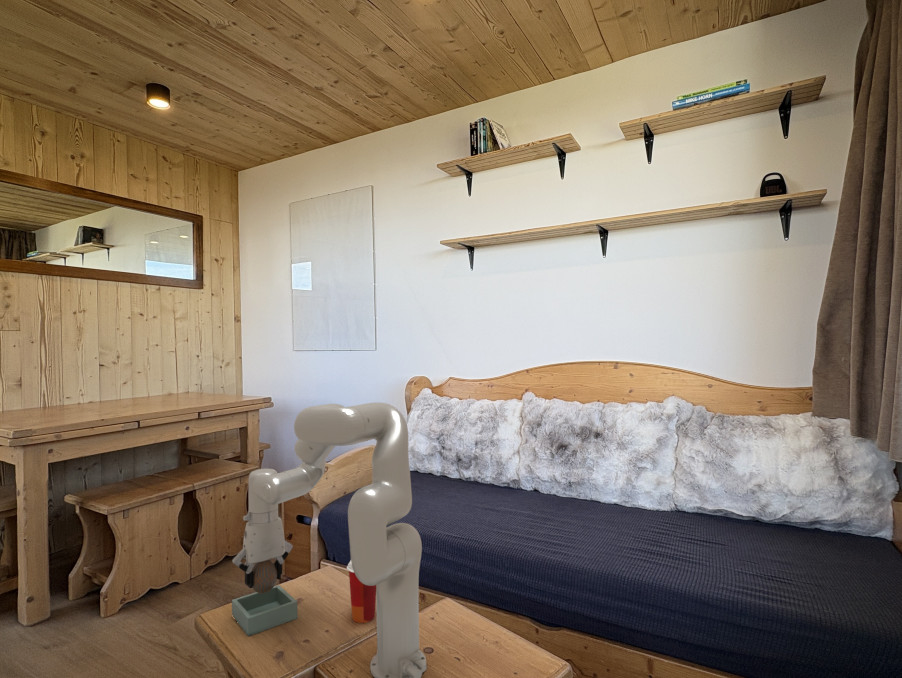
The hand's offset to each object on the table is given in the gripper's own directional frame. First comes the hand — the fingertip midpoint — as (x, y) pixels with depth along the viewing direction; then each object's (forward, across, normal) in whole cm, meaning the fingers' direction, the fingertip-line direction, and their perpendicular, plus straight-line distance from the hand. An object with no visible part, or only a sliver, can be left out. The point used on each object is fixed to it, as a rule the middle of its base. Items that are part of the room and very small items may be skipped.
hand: (263, 581), depth 137 cm
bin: (+10, 0, 0) cm, 10 cm away
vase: (+2, 0, 0) cm, 2 cm away
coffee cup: (+10, +20, -18) cm, 29 cm away
